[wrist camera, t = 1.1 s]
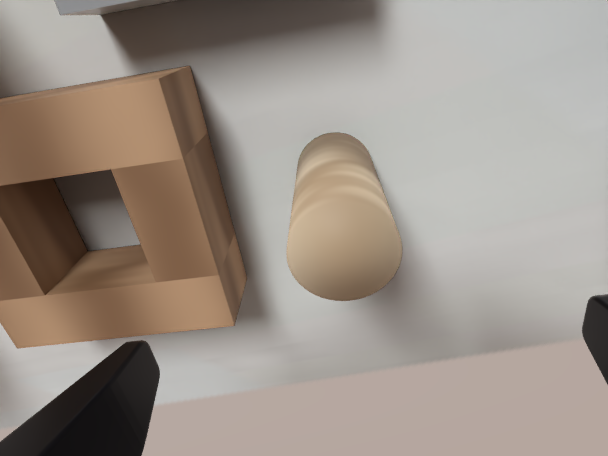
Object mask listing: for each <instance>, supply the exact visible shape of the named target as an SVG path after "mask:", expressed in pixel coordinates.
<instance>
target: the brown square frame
mask: <svg viewBox="0 0 608 456" xmlns="http://www.w3.org/2000/svg"><path fill="white" fill-rule="evenodd" d="M110 169H111V171H112V173H113V176H114V178H115V181H116V183H117V186H118V188H119V191H120V193H121V196H122V199H123V201H124V204H125V206H126V209H127V211H128V214H129V216H130V219H131V221H132V224H133V226H134V229H135V231H136V234H137V236H138V239H139V241H140V244H141V245H134V246H126V247H119V248H111V249H103V250H95V251H87V249H86V247H85V245H84V243H83V241H82V239H81V237H80V235H79V232H78V230H77V228H76V226H75V224H74V222H73V220H72V218H71V215H70V213H69V211H68V209H67V207H66V205H65V203H64V201H63V199H62V196H61V194H60V192H59V190H58V188H57V186H56V184H55V182H54V179H53V178H56V177H63V176H69V175H76V174H83V173H90V172H96V171H103V170H110ZM246 280H247V276H246V272H245V268H244V265H243V261H242V257H241V253H240V250H239V246H238V242H237V239H236V235H235V231H234V227H233V224H232V220H231V216H230V213H229V209H228V205H227V202H226V198H225V194H224V190H223V187H222V183H221V179H220V176H219V172H218V168H217V164H216V161H215V157H214V153H213V150H212V146H211V142H210V138H209V135H208V131H207V127H206V124H205V120H204V116H203V113H202V109H201V105H200V101H199V98H198V94H197V90H196V87H195V83H194V79H193V75H192V72H191V68H190V66H185V67H179V68H174V69H168V70H162V71H156V72H150V73H144V74H139V75H133V76H127V77H121V78H115V79H110V80H104V81H98V82H92V83H86V84H80V85H75V86H69V87H63V88H57V89H51V90H45V91H40V92H34V93H28V94H22V95H16V96H10V97H5V98H0V323H1V324H2V326H3V327H4V329H5V330H6V332H7V334H8V335H9V337H10V338H11V340H12V341H13V343H14V344H15V346H16V347H17V348H26V347H36V346H45V345H55V344H65V343H74V342H84V341H93V340H103V339H112V338H122V337H132V336H141V335H151V334H160V333H170V332H180V331H189V330H199V329H208V328H218V327H227V326H234V325H235V322H236V318H237V314H238V310H239V307H240V303H241V299H242V295H243V292H244V288H245V284H246Z"/></svg>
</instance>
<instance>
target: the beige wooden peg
mask: <svg viewBox="0 0 608 456" xmlns="http://www.w3.org/2000/svg"><path fill="white" fill-rule="evenodd" d="M401 258H402V242H401V238H400V235H399V232H398V230H397V227H396V224H395V222H394V219H393V216H392V213H391V211H390V208H389V205H388V203H387V200H386V197H385V195H384V192H383V189H382V187H381V184H380V181H379V178H378V176H377V173H376V170H375V168H374V165H373V162H372V160H371V157H370V154H369V152H368V150H367V149H366V147H365V146H364V145H363V144H362V143H361V142H360V141H359V140H358V139H356V138H355V137H353V136H350V135H348V134H344V133H327V134H324V135H321V136H319V137H317V138H315V139H313V140H312V141H311V142H310V143H308V144H307V146H306V147H305V148H304V150H303V151H302V153H301V155H300V157H299V161H298V167H297V174H296V182H295V189H294V197H293V205H292V212H291V220H290V227H289V235H288V242H287V262H288V265H289V268H290V271H291V273H292V275H293V276H294V278H295V279H296V280H297V281H298V283H299V284H300V285H301V286H303V287H304V288H305V289H306V290H308V291H309V292H311V293H313V294H315V295H317V296H319V297H322V298H325V299H329V300H336V301H350V300H356V299H360V298H364V297H366V296H369V295H371V294H373V293H375V292H377V291H378V290H380V289H381V288H383V287H384V286H385V285H386V284H387V283H388V282H389V281H390V280H391V279H392V278H393V276H394V275H395V273H396V272H397V270H398V268H399V265H400V262H401Z"/></svg>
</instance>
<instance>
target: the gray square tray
mask: <svg viewBox="0 0 608 456" xmlns="http://www.w3.org/2000/svg"><path fill="white" fill-rule="evenodd" d="M54 1H55V3H56V6H57V8H58V11H59V14H60V15H102V14H107V13H113V12H118V11H123V10H128V9H134V8H139V7H144V6H150V5H155V4H160V3H166V2H171V1H176V0H54Z"/></svg>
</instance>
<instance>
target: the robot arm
mask: <svg viewBox="0 0 608 456" xmlns="http://www.w3.org/2000/svg"><path fill="white" fill-rule="evenodd" d="M582 333H583V337H584V340H585V342H586V344H587V346H588V348H589V350H590V352H591V354H592V356H593V357H594V360H595V361H596V363H597V365H598V367H599V369H600V371H601V373H602V375H603V377H604V378H605V380H606V382H607V384H608V294H606V295H596V296H593V297H591V298H590V299H589V300H588V303H587V308H586V313H585V317H584V322H583V327H582ZM159 378H160V370H159V366H158V364H157V362H156V360H155V357H154V355H153V353H152V351H151V348H150V346H149V344H148V343H147V342H146V341H143V340H141V341H131V342H126V343H125V344H123V345H122V346H121V347H119V348H118V349H117V350H116V351H114V352H113V353H112V354H110V355H109V356H108V357H107V358H105V359H104V360H103V361H102V362H100V363H99V364H98V365H97V366H95V367H94V368H93V369H92V370H90V371H89V372H88V373H86V374H85V375H84V376H83V377H81V378H80V379H79V380H78V381H76V382H75V383H74V384H73V385H71V386H70V387H69V388H68V389H66V390H65V391H64V392H62V393H61V394H60V395H59V396H57V397H56V398H55V399H54V400H52V401H51V402H50V403H49V404H47V405H46V406H45V407H44V408H42V409H41V410H40V411H38V412H37V413H36V414H35V415H33V416H32V417H31V418H30V419H28V420H27V421H26V422H25V423H23V424H22V425H21V426H20V427H18V428H17V429H16V430H14V431H13V432H12V433H11V434H9V435H8V436H7V437H6V438H4V439H3V440H2V441H1V442H0V456H141V455H142V452H143V449H144V444H145V441H146V437H147V432H148V428H149V423H150V419H151V414H152V410H153V405H154V401H155V396H156V392H157V387H158V383H159Z"/></svg>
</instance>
